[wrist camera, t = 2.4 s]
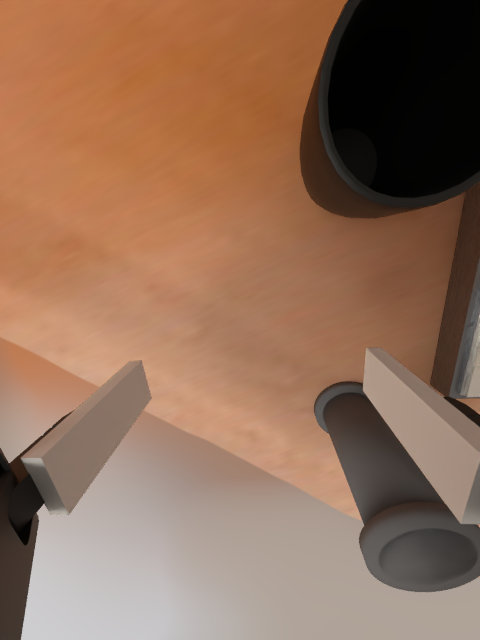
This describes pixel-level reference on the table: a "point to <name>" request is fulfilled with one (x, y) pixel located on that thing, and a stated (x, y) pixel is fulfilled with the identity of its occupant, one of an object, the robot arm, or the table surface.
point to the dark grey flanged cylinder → (395, 500)
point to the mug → (394, 108)
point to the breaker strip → (462, 311)
